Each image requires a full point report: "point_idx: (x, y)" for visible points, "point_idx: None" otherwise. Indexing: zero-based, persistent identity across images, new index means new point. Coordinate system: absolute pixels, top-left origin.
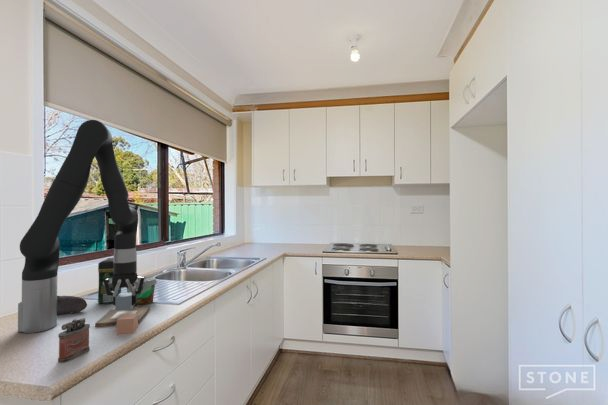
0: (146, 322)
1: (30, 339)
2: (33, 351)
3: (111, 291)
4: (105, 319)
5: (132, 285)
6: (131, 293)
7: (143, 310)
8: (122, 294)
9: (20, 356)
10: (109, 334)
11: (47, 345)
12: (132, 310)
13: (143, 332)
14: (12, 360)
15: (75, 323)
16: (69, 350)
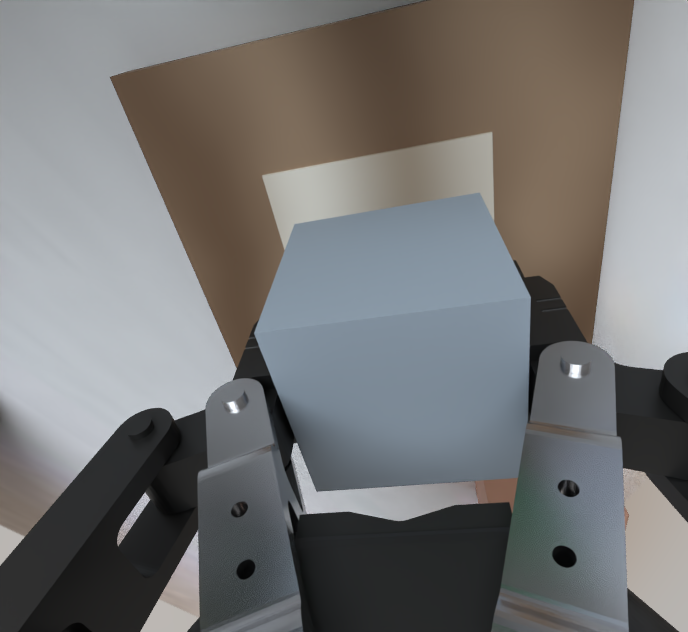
0: (632, 344)
1: (53, 500)
2: (197, 572)
3: (175, 489)
4: None
5: (556, 502)
6: (491, 366)
7: (569, 123)
8: (350, 405)
9: (189, 591)
10: (430, 484)
11: None
12: (420, 119)
13: (635, 476)
14: (191, 604)
15: None
16: None
